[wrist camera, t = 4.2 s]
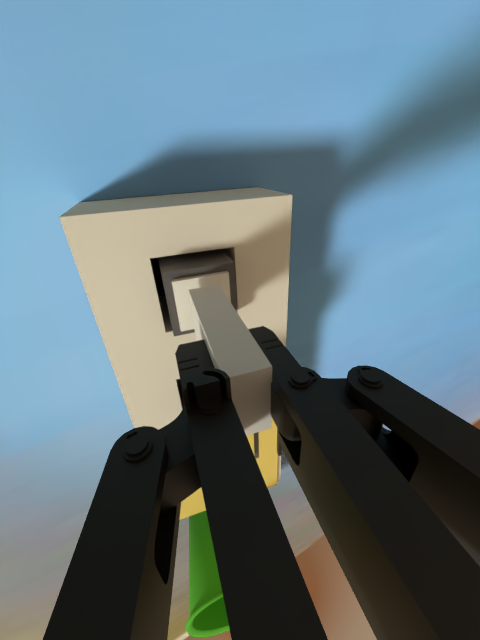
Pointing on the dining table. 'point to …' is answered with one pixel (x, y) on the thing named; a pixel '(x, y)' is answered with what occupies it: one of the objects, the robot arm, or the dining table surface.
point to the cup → (204, 582)
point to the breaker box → (151, 310)
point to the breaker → (194, 282)
